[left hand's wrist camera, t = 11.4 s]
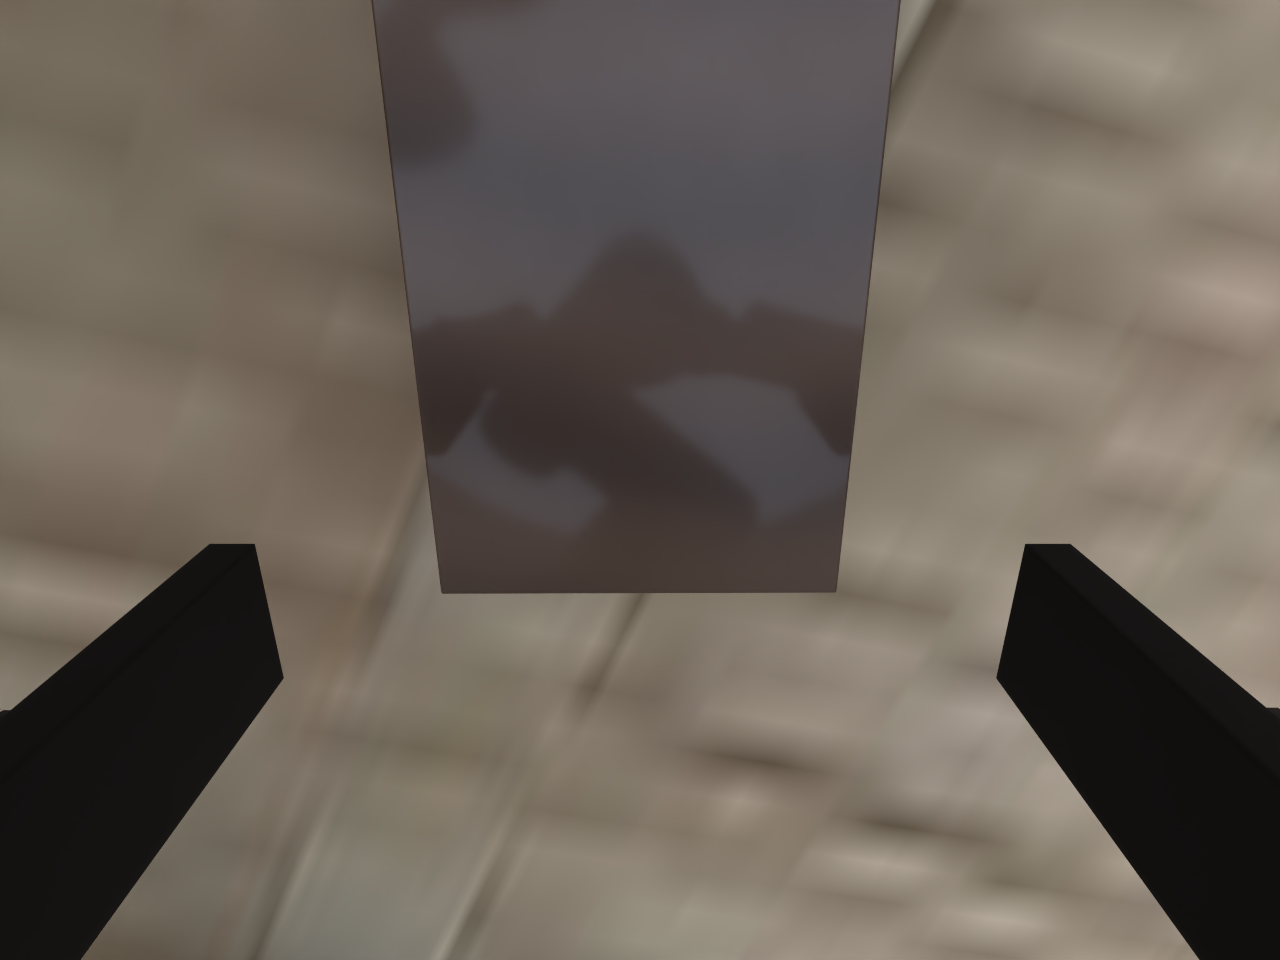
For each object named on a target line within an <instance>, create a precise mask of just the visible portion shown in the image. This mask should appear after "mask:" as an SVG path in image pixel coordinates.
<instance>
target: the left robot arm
mask: <svg viewBox="0 0 1280 960" xmlns="http://www.w3.org/2000/svg"><path fill="white" fill-rule="evenodd" d="M283 678H284V677H283V673H282V668H281V663H280V659H279V654H278V650H277V645H276V640H275V636H274V631H273V626H272V622H271V617H270V613H269V608H268V603H267V599H266V594H265V589H264V585H263V580H262V576H261V571H260V566H259V562H258V557H257V552H256V548H255V544H209V545H208V546H207V547H205V548H204V549H203V550H202V551H201V552H199V553H198V554H197V555H196V556H195V557H194V558H192V559H191V560H190V561H189V562H188V563H186V564H185V565H184V566H183V567H182V568H180V569H179V570H178V571H177V572H176V573H174V574H173V575H172V576H171V577H170V578H168V579H167V580H166V581H165V582H164V583H162V584H161V585H160V586H159V587H158V588H156V589H155V590H154V591H153V592H152V593H150V594H149V595H148V596H147V597H146V598H144V599H143V600H142V601H141V602H140V603H138V604H137V605H136V606H135V607H134V608H132V609H131V610H130V611H129V612H128V613H127V614H125V615H124V616H123V617H122V618H121V619H119V620H118V621H117V622H116V623H115V624H113V625H112V626H111V627H110V628H109V629H107V630H106V631H105V632H104V633H103V634H101V635H100V636H99V637H98V638H97V639H95V640H94V641H93V642H92V643H91V644H89V645H88V646H87V647H86V648H85V649H83V650H82V651H81V652H80V653H79V654H77V655H76V656H75V657H74V658H73V659H71V660H70V661H69V662H68V663H67V664H66V665H64V666H63V667H62V668H61V669H60V670H58V671H57V672H56V673H55V674H54V675H52V676H51V677H50V678H49V679H48V680H46V681H45V682H44V683H43V684H42V685H40V686H39V687H38V688H37V689H36V690H34V691H33V692H32V693H31V694H30V695H28V696H27V697H26V698H25V699H24V700H22V701H21V702H20V703H19V704H18V705H16V706H15V707H14V708H13V709H12V710H3V711H1V712H0V960H81V958H82V957H83V956H84V954H85V953H86V951H87V950H88V949H89V947H90V946H91V944H92V943H93V942H94V940H95V939H96V938H97V936H98V935H99V933H100V932H101V931H102V929H103V928H104V926H105V925H106V924H107V922H108V921H109V920H110V918H111V917H112V915H113V914H114V913H115V911H116V910H117V908H118V907H119V906H120V904H121V903H122V902H123V900H124V899H125V897H126V896H127V895H128V893H129V892H130V890H131V889H132V888H133V886H134V885H135V884H136V882H137V881H138V879H139V878H140V877H141V875H142V874H143V872H144V871H145V870H146V868H147V867H148V865H149V864H150V863H151V861H152V860H153V859H154V857H155V856H156V854H157V853H158V852H159V850H160V849H161V847H162V846H163V845H164V843H165V842H166V841H167V839H168V838H169V836H170V835H171V834H172V832H173V831H174V829H175V828H176V827H177V825H178V824H179V823H180V821H181V820H182V818H183V817H184V816H185V814H186V813H187V811H188V810H189V809H190V807H191V806H192V804H193V803H194V802H195V800H196V799H197V798H198V796H199V795H200V793H201V792H202V791H203V789H204V788H205V786H206V785H207V784H208V782H209V781H210V780H211V778H212V777H213V775H214V774H215V773H216V771H217V770H218V768H219V767H220V766H221V764H222V763H223V762H224V760H225V759H226V757H227V756H228V755H229V753H230V752H231V750H232V749H233V748H234V746H235V745H236V744H237V742H238V741H239V739H240V738H241V737H242V735H243V734H244V732H245V731H246V730H247V728H248V727H249V725H250V724H251V723H252V721H253V720H254V719H255V717H256V716H257V714H258V713H259V712H260V710H261V709H262V707H263V706H264V705H265V703H266V702H267V701H268V699H269V698H270V696H271V695H272V694H273V692H274V691H275V689H276V688H277V687H278V685H279V684H280V683H281V681H282V680H283ZM996 678H997V680H998V681H999V683H1000V684H1001V685H1002V687H1003V688H1004V689H1005V691H1006V692H1007V694H1008V695H1009V696H1010V698H1011V699H1012V701H1013V702H1014V703H1015V705H1016V706H1017V707H1018V709H1019V710H1020V712H1021V713H1022V714H1023V716H1024V717H1025V719H1026V720H1027V721H1028V723H1029V724H1030V725H1031V727H1032V728H1033V730H1034V731H1035V732H1036V734H1037V735H1038V737H1039V738H1040V739H1041V741H1042V742H1043V744H1044V745H1045V746H1046V748H1047V749H1048V750H1049V752H1050V753H1051V755H1052V756H1053V757H1054V759H1055V760H1056V762H1057V763H1058V764H1059V766H1060V767H1061V768H1062V770H1063V771H1064V773H1065V774H1066V775H1067V777H1068V778H1069V780H1070V781H1071V782H1072V784H1073V785H1074V786H1075V788H1076V789H1077V791H1078V792H1079V793H1080V795H1081V796H1082V798H1083V799H1084V800H1085V802H1086V803H1087V804H1088V806H1089V807H1090V809H1091V810H1092V811H1093V813H1094V814H1095V816H1096V817H1097V818H1098V820H1099V821H1100V823H1101V824H1102V825H1103V827H1104V828H1105V829H1106V831H1107V832H1108V834H1109V835H1110V836H1111V838H1112V839H1113V841H1114V842H1115V843H1116V845H1117V846H1118V847H1119V849H1120V850H1121V852H1122V853H1123V854H1124V856H1125V857H1126V859H1127V860H1128V861H1129V863H1130V864H1131V865H1132V867H1133V868H1134V870H1135V871H1136V872H1137V874H1138V875H1139V877H1140V878H1141V879H1142V881H1143V882H1144V884H1145V885H1146V886H1147V888H1148V889H1149V890H1150V892H1151V893H1152V895H1153V896H1154V897H1155V899H1156V900H1157V902H1158V903H1159V904H1160V906H1161V907H1162V908H1163V910H1164V911H1165V913H1166V914H1167V915H1168V917H1169V918H1170V920H1171V921H1172V922H1173V924H1174V925H1175V926H1176V928H1177V929H1178V931H1179V932H1180V933H1181V935H1182V936H1183V938H1184V939H1185V940H1186V942H1187V943H1188V944H1189V946H1190V947H1191V949H1192V950H1193V951H1194V953H1195V954H1196V956H1197V957H1198V958H1199V960H1280V709H1279V708H1266V707H1265V706H1264V705H1262V704H1261V703H1260V702H1259V701H1258V700H1256V699H1255V698H1254V697H1253V696H1252V695H1250V694H1249V693H1248V692H1247V691H1246V690H1244V689H1243V688H1242V687H1241V686H1240V685H1238V684H1237V683H1236V682H1235V681H1234V680H1232V679H1231V678H1230V677H1229V676H1228V675H1226V674H1225V673H1224V672H1223V671H1222V670H1220V669H1219V668H1218V667H1217V666H1216V665H1214V664H1213V663H1212V662H1211V661H1210V660H1209V659H1207V658H1206V657H1205V656H1204V655H1203V654H1201V653H1200V652H1199V651H1198V650H1197V649H1195V648H1194V647H1193V646H1192V645H1191V644H1189V643H1188V642H1187V641H1186V640H1185V639H1183V638H1182V637H1181V636H1180V635H1179V634H1177V633H1176V632H1175V631H1174V630H1173V629H1171V628H1170V627H1169V626H1168V625H1167V624H1165V623H1164V622H1163V621H1162V620H1161V619H1159V618H1158V617H1157V616H1156V615H1155V614H1153V613H1152V612H1151V611H1150V610H1149V609H1148V608H1146V607H1145V606H1144V605H1143V604H1142V603H1140V602H1139V601H1138V600H1137V599H1136V598H1134V597H1133V596H1132V595H1131V594H1130V593H1128V592H1127V591H1126V590H1125V589H1124V588H1122V587H1121V586H1120V585H1119V584H1118V583H1116V582H1115V581H1114V580H1113V579H1112V578H1110V577H1109V576H1108V575H1107V574H1106V573H1104V572H1103V571H1102V570H1101V569H1100V568H1098V567H1097V566H1096V565H1095V564H1094V563H1092V562H1091V561H1090V560H1089V559H1088V558H1086V557H1085V556H1084V555H1083V554H1082V553H1081V552H1079V551H1078V550H1077V549H1076V548H1075V547H1073V546H1072V545H1071V544H1025V548H1024V552H1023V557H1022V562H1021V566H1020V571H1019V576H1018V580H1017V585H1016V589H1015V594H1014V599H1013V603H1012V608H1011V613H1010V617H1009V622H1008V626H1007V631H1006V636H1005V640H1004V645H1003V650H1002V654H1001V659H1000V663H999V668H998V673H997V677H996Z"/></svg>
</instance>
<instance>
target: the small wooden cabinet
mask: <svg viewBox="0 0 1280 960" xmlns="http://www.w3.org/2000/svg"><path fill="white" fill-rule="evenodd" d="M371 1H372V9H373V18H374V26H375V34H376V43H377V51H378V60H379V68H380V77H381V85H382V94H383V102H384V111H385V119H386V128H387V136H388V144H389V153H390V161H391V170H392V178H393V187H394V195H395V204H396V212H397V221H398V229H399V238H400V246H401V255H402V263H403V271H404V280H405V288H406V297H407V305H408V314H409V322H410V331H411V339H412V348H413V356H414V365H415V373H416V381H417V390H418V398H419V407H420V415H421V424H422V432H423V441H424V449H425V458H426V466H427V475H428V483H429V492H430V500H431V508H432V517H433V525H434V534H435V542H436V551H437V559H438V568H439V576H440V585H441V592H442V593H443V594H457V593H794V592H836V590H837V581H838V571H839V562H840V553H841V544H842V535H843V525H844V516H845V507H846V498H847V489H848V480H849V470H850V461H851V452H852V443H853V434H854V424H855V415H856V406H857V397H858V388H859V378H860V369H861V360H862V351H863V342H864V332H865V323H866V314H867V305H868V296H869V286H870V277H871V268H872V259H873V250H874V240H875V231H876V222H877V213H878V204H879V195H880V185H881V176H882V167H883V158H884V149H885V139H886V130H887V121H888V112H889V103H890V93H891V84H892V75H893V66H894V57H895V47H896V38H897V29H898V20H899V11H900V1H901V0H371Z"/></svg>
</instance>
